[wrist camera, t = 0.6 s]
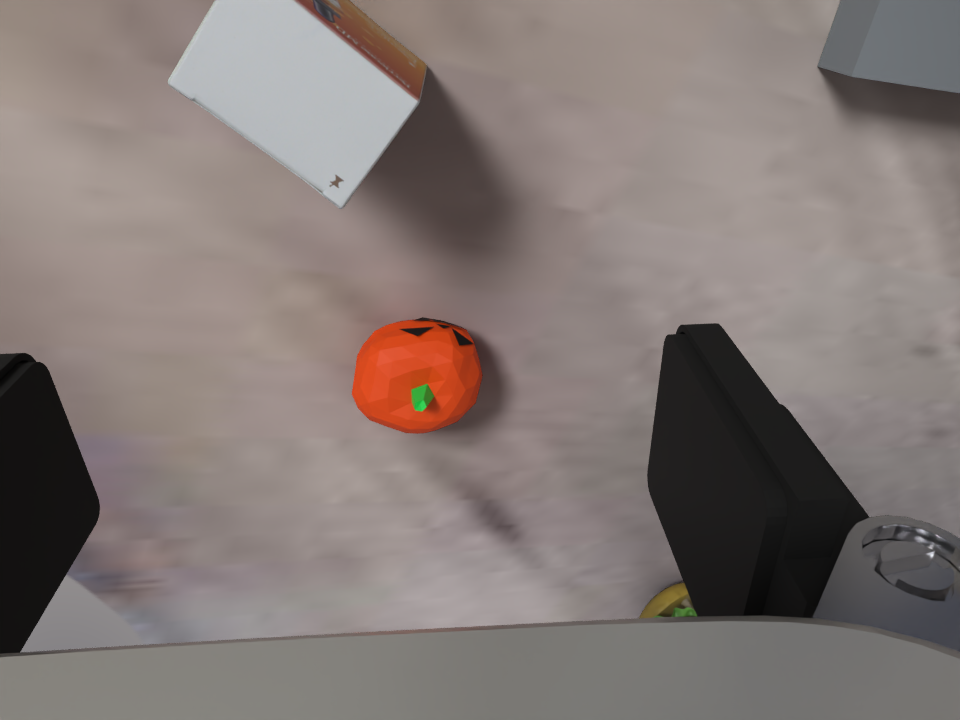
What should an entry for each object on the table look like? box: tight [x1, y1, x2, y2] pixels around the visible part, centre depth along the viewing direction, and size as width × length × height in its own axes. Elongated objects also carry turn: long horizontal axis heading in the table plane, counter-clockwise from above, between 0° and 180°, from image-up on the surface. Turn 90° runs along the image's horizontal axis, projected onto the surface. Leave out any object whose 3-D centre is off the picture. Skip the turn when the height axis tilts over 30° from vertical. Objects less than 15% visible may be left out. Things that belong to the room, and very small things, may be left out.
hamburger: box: [639, 583, 697, 618], centre depth 52 cm, size 8×7×12 cm
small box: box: [168, 0, 427, 209], centre depth 31 cm, size 8×6×10 cm
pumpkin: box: [352, 318, 483, 433], centre depth 42 cm, size 7×8×6 cm
